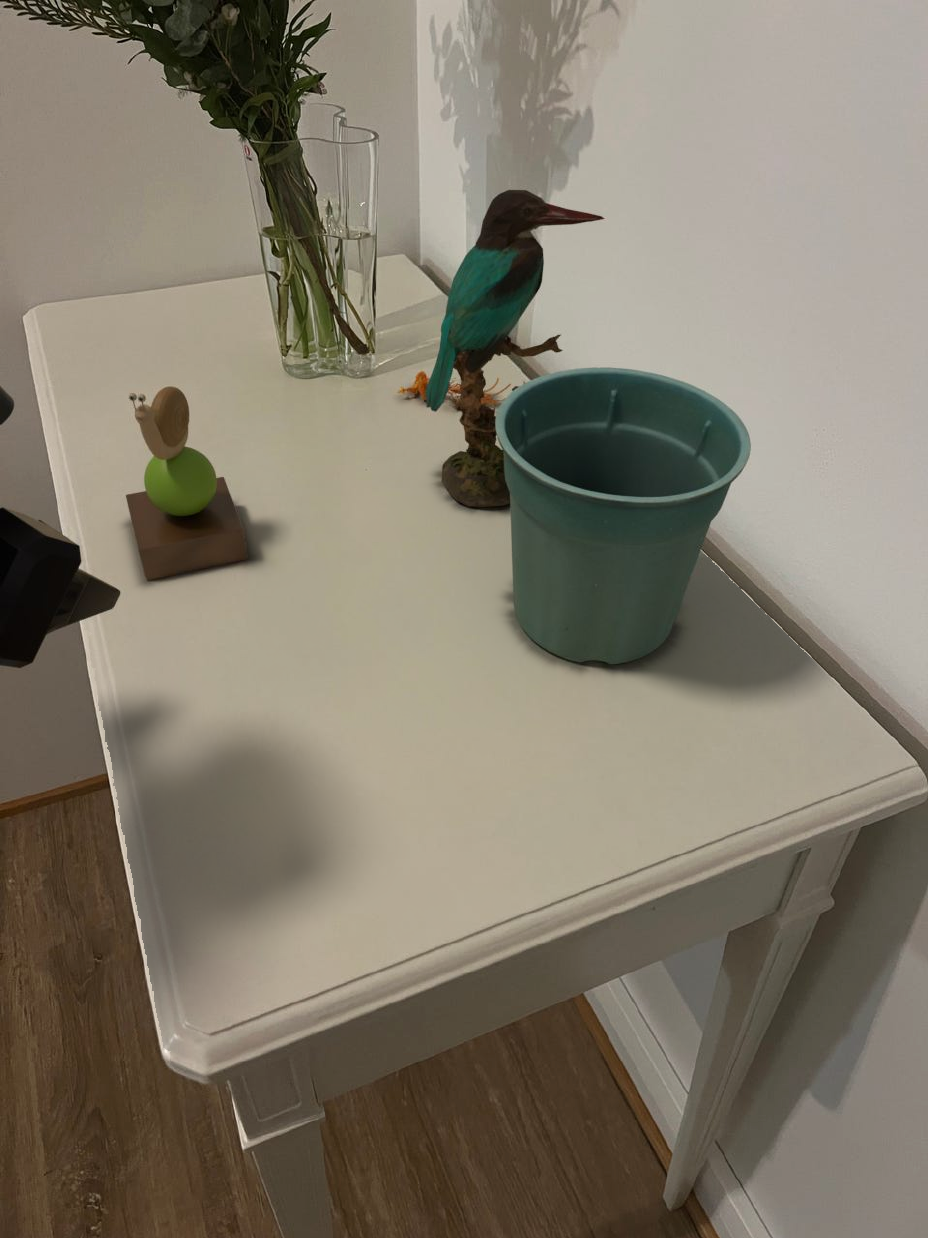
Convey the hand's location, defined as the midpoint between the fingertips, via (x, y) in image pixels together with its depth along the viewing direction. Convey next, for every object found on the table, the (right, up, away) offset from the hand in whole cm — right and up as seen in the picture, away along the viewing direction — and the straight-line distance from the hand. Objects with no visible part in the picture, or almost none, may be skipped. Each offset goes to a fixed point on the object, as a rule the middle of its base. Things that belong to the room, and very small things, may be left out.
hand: (65, 564), depth 52 cm
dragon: (+21, +19, +43) cm, 51 cm away
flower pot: (+32, -3, +19) cm, 37 cm away
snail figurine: (0, +5, +22) cm, 23 cm away
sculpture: (+25, +9, +32) cm, 42 cm away
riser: (0, +3, +24) cm, 24 cm away
